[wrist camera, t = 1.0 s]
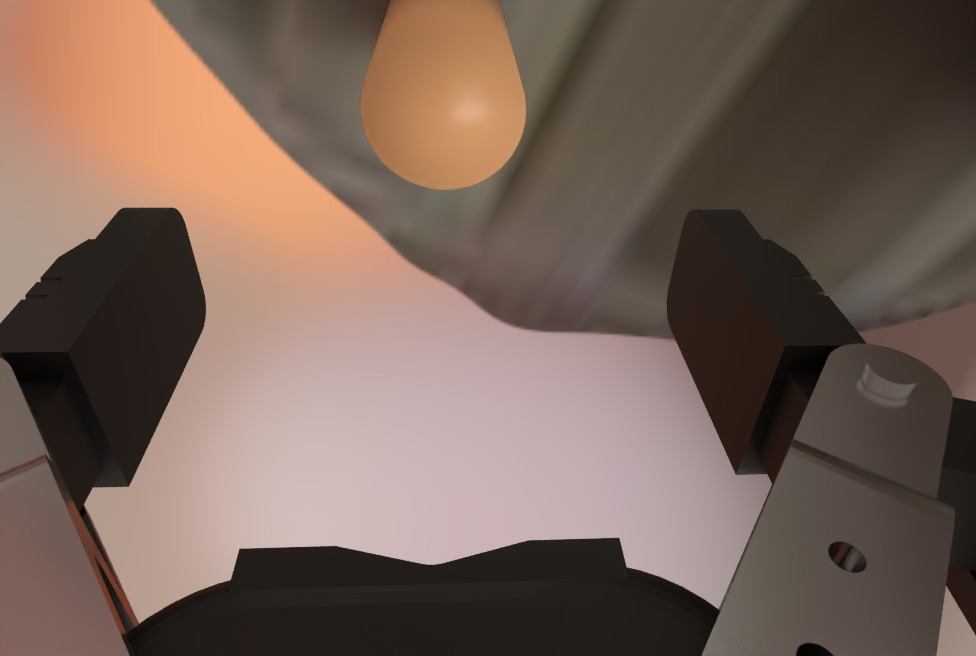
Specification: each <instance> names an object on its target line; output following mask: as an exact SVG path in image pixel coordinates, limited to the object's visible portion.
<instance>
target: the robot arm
mask: <svg viewBox="0 0 976 656" xmlns="http://www.w3.org/2000/svg"><path fill="white" fill-rule="evenodd" d="M811 277H812V275H811V274H810V273H809V272H808V270H807V269H806V268H805V267H804V266H803V264H802V263H801V262H800V261H799V259H798V258H797V257H796V256H795V255H793V254H792V253H790V252H789V251H787V250H785V249H784V248H782V247H781V246H779V245H778V244H776V243H774V242H773V241H771V240H763V239H762V238H761V236H760V235H759V234H758V232H757V231H756V230H755V229H754V227H753V226H752V225H751V223H750V222H749V221H748V219H747V218H746V217H745V215H744V214H743V213H742V212H741V211H740V210H691V211H690V212H689V213H688V214H687V216H686V218H685V221H684V224H683V228H682V232H681V236H680V241H679V245H678V249H677V254H676V258H675V262H674V267H673V271H672V275H671V280H670V284H669V288H668V294H667V317H668V322H669V326H670V328H671V331H672V333H673V335H674V337H675V340H676V342H677V344H678V346H679V349H680V351H681V353H682V355H683V358H684V360H685V362H686V364H687V366H688V369H689V371H690V373H691V375H692V377H693V380H694V382H695V384H696V387H697V389H698V391H699V393H700V396H701V398H702V400H703V402H704V404H705V407H706V409H707V411H708V413H709V416H710V418H711V420H712V422H713V424H714V427H715V429H716V431H717V433H718V436H719V438H720V440H721V442H722V445H723V447H724V449H725V451H726V454H727V456H728V458H729V460H730V463H731V465H732V467H733V469H734V471H735V474H736V475H742V474H743V475H746V474H768V476H769V478H770V480H771V482H772V486H771V489H770V491H769V493H768V495H767V498H766V500H765V502H764V505H763V507H762V509H761V512H760V514H759V516H758V519H757V521H756V523H755V526H754V528H753V530H752V533H751V535H750V537H749V540H748V542H747V544H746V547H745V549H744V551H743V554H742V556H741V558H740V561H739V563H738V565H737V568H736V570H735V573H734V575H733V577H732V579H731V582H730V584H729V586H728V589H727V591H726V593H725V596H724V598H723V600H722V602H721V605H720V607H719V609H717V608H716V607H714V606H713V605H712V604H710V603H709V602H707V601H706V600H704V599H703V598H701V597H699V596H698V595H696V594H694V593H692V592H691V591H689V590H687V589H685V588H684V587H682V586H679V585H677V584H675V583H673V582H670V581H668V580H666V579H663V578H661V577H659V576H655V575H652V574H649V573H646V572H643V571H640V570H636V569H632V568H627V567H626V563H625V559H624V555H623V551H622V547H621V543H620V539H619V538H601V539H564V540H531V541H530V540H529V541H525V542H521V543H517V544H514V545H510V546H506V547H502V548H499V549H495V550H491V551H488V552H484V553H480V554H476V555H473V556H469V557H465V558H461V559H458V560H454V561H450V562H446V563H442V564H437V565H426V564H419V563H415V562H410V561H405V560H400V559H394V558H390V557H385V556H381V555H376V554H370V553H366V552H361V551H357V550H352V549H347V548H342V547H337V546H321V547H288V548H251V549H239V553H238V557H237V560H236V564H235V567H234V571H233V575H232V578H231V580H230V581H226V582H223V583H219V584H216V585H213V586H211V587H208V588H205V589H203V590H200V591H197V592H195V593H193V594H191V595H189V596H187V597H184V598H182V599H180V600H178V601H176V602H174V603H172V604H170V605H169V606H167V607H165V608H163V609H162V610H160V611H158V612H157V613H155V614H153V615H152V616H150V617H148V618H147V619H145V620H144V621H143V622H141V623H140V624H139V622H138V620H137V618H136V616H135V614H134V612H133V610H132V607H131V606H130V603H129V601H128V599H127V596H126V594H125V592H124V590H123V588H122V585H121V583H120V581H119V579H118V576H117V574H116V572H115V570H114V568H113V566H112V563H111V561H110V559H109V557H108V554H107V552H106V550H105V548H104V546H103V543H102V541H101V539H100V537H99V535H98V532H97V530H96V528H95V526H94V523H93V521H92V519H91V517H90V515H89V513H88V511H87V509H86V507H85V505H84V503H85V501H86V499H87V497H88V495H89V494H90V492H91V490H92V488H93V487H128V486H129V485H130V483H131V481H132V479H133V477H134V475H135V473H136V470H137V468H138V466H139V464H140V462H141V460H142V458H143V455H144V454H145V451H146V449H147V447H148V445H149V443H150V441H151V439H152V437H153V434H154V432H155V430H156V428H157V426H158V424H159V422H160V419H161V418H162V415H163V413H164V411H165V409H166V407H167V405H168V403H169V401H170V398H171V396H172V394H173V392H174V390H175V388H176V386H177V383H178V381H179V379H180V377H181V375H182V373H183V371H184V369H185V367H186V364H187V362H188V360H189V358H190V356H191V354H192V352H193V349H194V347H195V345H196V343H197V341H198V339H199V337H200V335H201V333H202V330H203V327H204V322H205V316H206V302H205V295H204V290H203V287H202V283H201V279H200V276H199V272H198V268H197V265H196V261H195V258H194V254H193V250H192V247H191V243H190V239H189V236H188V232H187V229H186V225H185V222H184V219H183V217H182V215H181V213H180V212H179V211H178V210H177V209H175V208H122V209H120V210H119V211H118V212H117V213H116V215H115V216H114V217H113V218H112V220H111V221H110V222H109V223H108V225H107V226H106V227H105V228H104V229H103V230H102V232H101V233H100V234H99V235H98V236H97V238H96V239H88V240H87V241H85V242H83V243H82V244H80V245H78V246H77V247H75V248H73V249H72V250H70V251H68V252H67V253H65V254H63V255H62V256H60V257H58V259H57V260H56V261H55V262H54V263H53V264H52V265H51V267H50V268H49V269H48V270H47V271H46V272H45V273H44V274H43V276H42V277H41V282H36V284H35V285H34V286H33V287H32V288H31V289H30V290H29V292H28V293H27V294H26V299H25V300H21V301H20V302H19V303H18V304H17V305H16V306H15V307H14V309H13V310H12V311H11V312H10V313H9V314H8V315H7V317H6V318H5V319H4V320H3V321H2V322H1V323H0V656H936V654H937V647H938V640H939V632H940V625H941V618H942V610H943V603H944V595H945V589H946V586H947V588H948V589H949V591H950V592H951V594H952V596H953V598H954V599H955V601H956V603H957V604H958V606H959V608H960V609H961V611H962V613H963V614H964V616H965V618H966V620H967V621H968V623H969V625H970V626H971V628H972V630H973V631H974V633H975V635H976V402H975V401H970V400H965V399H960V398H955V397H953V396H952V393H951V390H950V388H949V386H948V385H947V383H946V382H945V381H944V380H943V378H942V377H941V376H940V375H939V374H938V373H937V372H935V371H934V370H933V369H932V368H930V367H929V366H928V365H926V364H925V363H923V362H921V361H919V360H918V359H916V358H914V357H912V356H910V355H908V354H905V353H903V352H900V351H897V350H894V349H891V348H888V347H883V346H879V345H873V344H867V343H866V342H865V341H864V340H863V338H862V337H861V336H860V335H859V333H858V332H857V331H856V330H855V328H854V327H853V326H852V325H851V324H850V322H849V321H848V320H847V319H846V317H845V316H844V315H843V314H842V312H841V311H840V310H839V309H838V307H837V306H836V305H835V304H834V303H833V301H832V300H831V299H830V298H829V296H825V295H824V293H825V291H824V290H823V289H822V288H821V286H820V285H819V284H818V283H817V282H816V280H812V279H811Z"/></svg>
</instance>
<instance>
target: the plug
mask: <svg viewBox="0 0 976 656" xmlns="http://www.w3.org/2000/svg"><path fill="white" fill-rule="evenodd" d="M360 104H361V118H362V124H363V128H364V131H365V134H366V136H367V139H368V141H369V143H370V145H371V147H372V148H373V150H374V152H375V153H376V155H377V156H378V157H379V158H380V160H381V161H382V162H383V163H384V164H385V165H386V166H387V167H388V168H389V169H390V170H392V171H393V172H394V173H395V174H397V175H398V176H400V177H402V178H403V179H405V180H407V181H409V182H411V183H414V184H416V185H419V186H422V187H426V188H431V189H441V190H450V189H459V188H465V187H468V186H471V185H474V184H477V183H479V182H481V181H483V180H485V179H487V178H488V177H490V176H492V175H493V174H494V173H495V172H497V171H498V170H499V169H500V168H501V167H502V166H503V165H504V164H505V163H506V162H507V161H508V160H509V158H510V157H511V156H512V154H513V153H514V151H515V149H516V147H517V146H518V144H519V141H520V139H521V136H522V133H523V129H524V126H525V118H526V101H525V94H524V90H523V86H522V83H521V79H520V75H519V72H518V68H517V64H516V61H515V57H514V53H513V50H512V46H511V42H510V39H509V35H508V31H507V28H506V24H505V20H504V17H503V13H502V9H501V6H500V2H499V0H390V3H389V6H388V9H387V12H386V15H385V19H384V22H383V25H382V28H381V31H380V34H379V37H378V40H377V43H376V46H375V49H374V52H373V56H372V59H371V62H370V65H369V68H368V71H367V74H366V77H365V80H364V84H363V88H362V93H361V102H360Z"/></svg>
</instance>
